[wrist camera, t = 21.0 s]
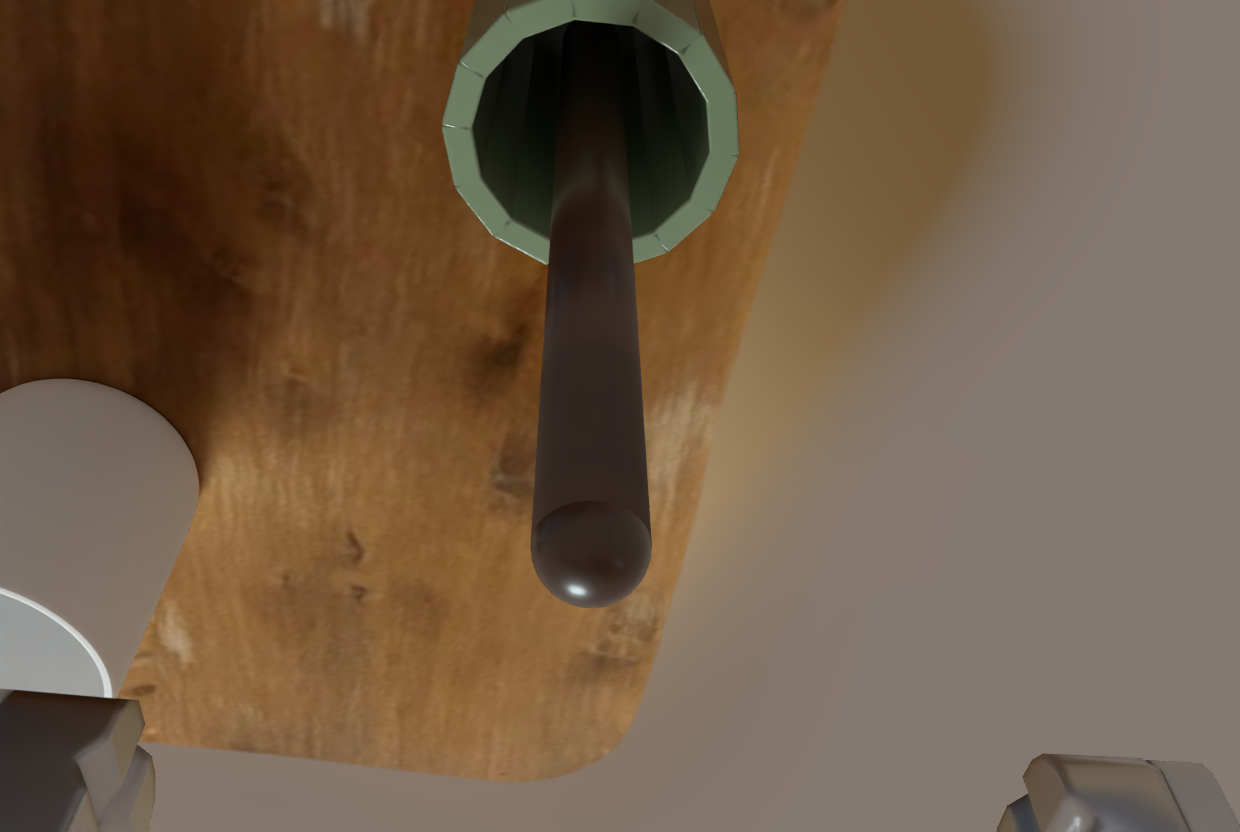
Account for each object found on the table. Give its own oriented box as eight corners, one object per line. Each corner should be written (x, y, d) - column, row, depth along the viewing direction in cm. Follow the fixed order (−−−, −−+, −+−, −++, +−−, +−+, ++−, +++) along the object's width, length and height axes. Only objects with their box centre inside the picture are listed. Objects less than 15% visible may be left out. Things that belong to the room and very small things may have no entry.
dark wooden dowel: (569, -62, 31) (535, 503, 12) (621, -55, 31) (668, 513, 12) (562, 27, 32) (521, 659, 13) (611, 32, 32) (640, 666, 13)
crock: (491, -150, 30) (445, -28, 20) (710, -124, 31) (766, 8, 21) (482, 64, 34) (438, 256, 24) (680, 85, 34) (715, 282, 24)
